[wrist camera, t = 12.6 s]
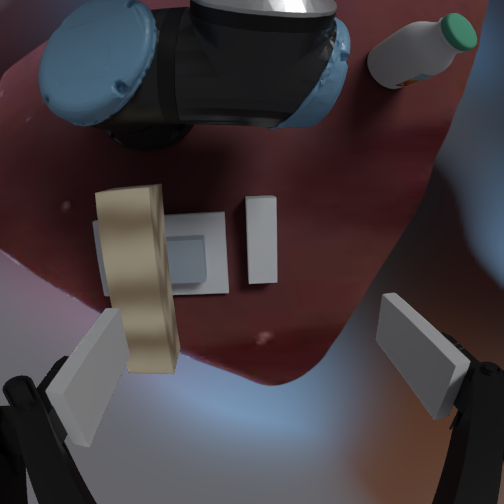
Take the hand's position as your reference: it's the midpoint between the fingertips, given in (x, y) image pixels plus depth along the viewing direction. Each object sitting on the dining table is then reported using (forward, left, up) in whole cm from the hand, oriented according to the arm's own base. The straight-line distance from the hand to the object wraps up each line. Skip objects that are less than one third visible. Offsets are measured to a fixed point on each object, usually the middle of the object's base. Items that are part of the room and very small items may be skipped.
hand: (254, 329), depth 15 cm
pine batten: (+5, -12, -24) cm, 27 cm away
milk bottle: (-24, +24, -32) cm, 47 cm away
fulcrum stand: (+5, -12, -32) cm, 34 cm away
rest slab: (+3, +3, -32) cm, 32 cm away
